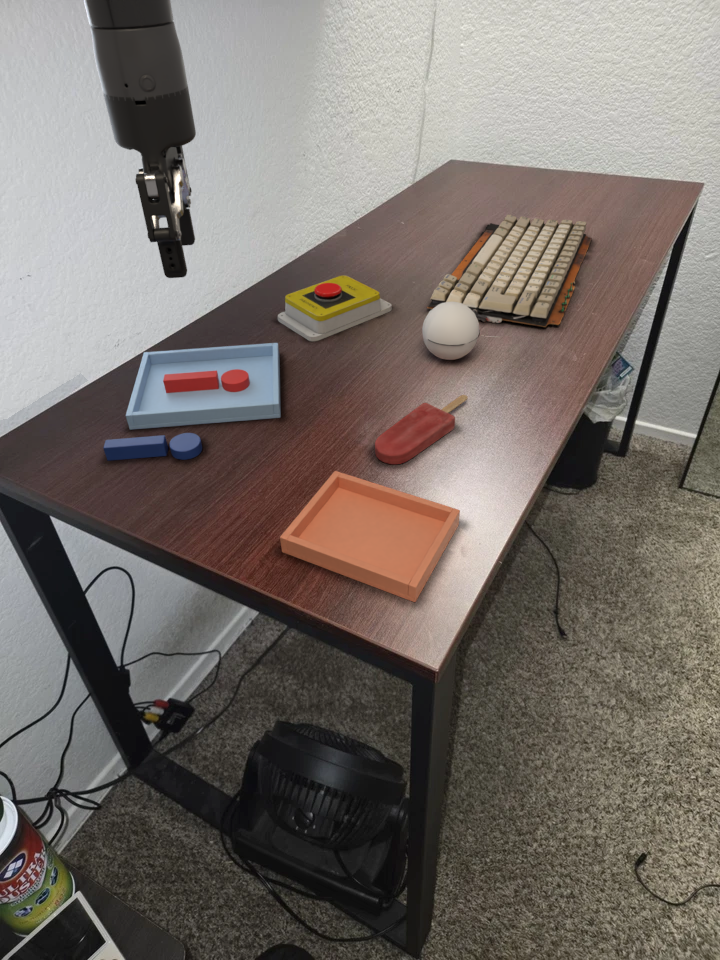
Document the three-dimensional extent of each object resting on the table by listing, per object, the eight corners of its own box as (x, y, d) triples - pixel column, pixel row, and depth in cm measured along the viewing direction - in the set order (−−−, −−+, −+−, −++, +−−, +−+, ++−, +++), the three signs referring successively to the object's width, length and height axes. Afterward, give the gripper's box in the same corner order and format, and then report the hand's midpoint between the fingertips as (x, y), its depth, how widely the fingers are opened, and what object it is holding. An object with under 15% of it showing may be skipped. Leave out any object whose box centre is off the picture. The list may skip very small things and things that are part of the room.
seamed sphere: (410, 362, 86) (412, 310, 81) (436, 337, 90) (438, 287, 86) (482, 382, 82) (488, 328, 77) (504, 355, 86) (511, 303, 82)
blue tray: (129, 429, 76) (125, 415, 74) (147, 365, 87) (143, 352, 85) (280, 417, 77) (278, 403, 76) (279, 355, 88) (277, 342, 86)
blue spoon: (105, 466, 71) (101, 453, 70) (111, 447, 73) (107, 434, 72) (201, 458, 71) (198, 445, 70) (203, 439, 74) (200, 426, 73)
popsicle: (482, 396, 76) (397, 459, 68) (481, 408, 77) (397, 472, 69) (450, 382, 78) (365, 442, 70) (450, 394, 79) (366, 454, 72)
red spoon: (165, 397, 80) (162, 385, 79) (168, 382, 82) (165, 370, 81) (249, 391, 80) (247, 378, 79) (250, 376, 83) (248, 364, 82)
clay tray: (281, 552, 61) (279, 537, 59) (335, 485, 68) (334, 470, 66) (415, 602, 56) (416, 587, 55) (458, 525, 63) (460, 509, 61)
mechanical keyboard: (487, 225, 122) (489, 207, 120) (593, 238, 116) (597, 219, 114) (424, 315, 96) (425, 293, 94) (557, 337, 90) (561, 314, 88)
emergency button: (271, 290, 93) (354, 262, 100) (275, 319, 96) (355, 289, 103) (310, 313, 87) (394, 281, 94) (312, 342, 90) (394, 309, 97)
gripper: (117, 72, 64) (155, 237, 75) (85, 103, 54) (134, 291, 64) (194, 68, 65) (221, 233, 75) (178, 99, 54) (211, 286, 65)
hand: (181, 259), depth 70 cm, fingers open, 8 cm apart
